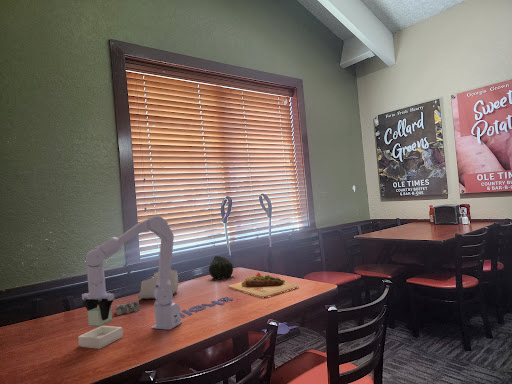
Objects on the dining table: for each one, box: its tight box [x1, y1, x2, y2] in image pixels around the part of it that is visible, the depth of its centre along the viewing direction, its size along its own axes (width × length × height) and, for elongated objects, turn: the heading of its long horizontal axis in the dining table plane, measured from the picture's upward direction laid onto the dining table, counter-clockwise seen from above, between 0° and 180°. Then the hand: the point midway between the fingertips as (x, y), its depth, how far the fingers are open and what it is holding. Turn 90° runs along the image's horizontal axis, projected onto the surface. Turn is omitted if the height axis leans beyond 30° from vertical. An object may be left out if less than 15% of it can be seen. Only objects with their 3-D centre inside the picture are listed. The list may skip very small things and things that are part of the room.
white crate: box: [77, 325, 124, 350], centre depth 124 cm, size 11×11×4 cm
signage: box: [180, 296, 234, 318], centre depth 155 cm, size 28×1×10 cm
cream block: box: [137, 269, 179, 300], centre depth 185 cm, size 20×19×12 cm
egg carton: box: [115, 300, 140, 316], centre depth 160 cm, size 11×8×4 cm
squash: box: [208, 255, 234, 280], centre depth 214 cm, size 14×15×15 cm
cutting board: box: [228, 271, 299, 298], centre depth 179 cm, size 35×23×8 cm
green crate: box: [87, 306, 113, 328], centre depth 125 cm, size 5×6×6 cm
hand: (99, 319), depth 125 cm, fingers closed on green crate, 5 cm apart
